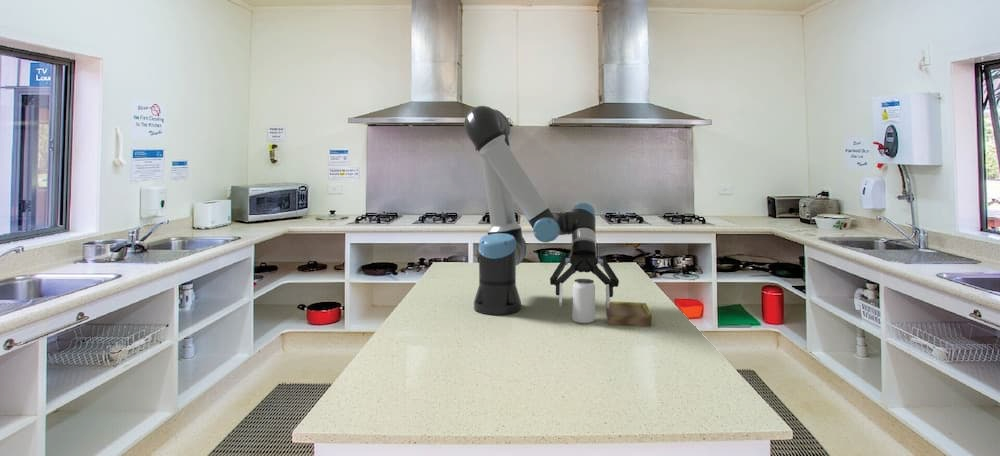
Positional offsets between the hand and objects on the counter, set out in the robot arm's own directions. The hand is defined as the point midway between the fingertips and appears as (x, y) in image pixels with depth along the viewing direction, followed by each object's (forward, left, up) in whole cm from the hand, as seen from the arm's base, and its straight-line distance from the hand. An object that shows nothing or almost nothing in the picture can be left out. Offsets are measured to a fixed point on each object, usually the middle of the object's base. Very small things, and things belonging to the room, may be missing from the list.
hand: (584, 305), depth 144 cm
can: (0, +2, -5) cm, 6 cm away
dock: (+13, +5, -5) cm, 15 cm away
